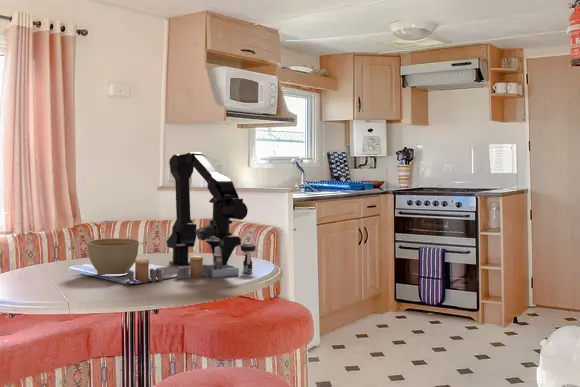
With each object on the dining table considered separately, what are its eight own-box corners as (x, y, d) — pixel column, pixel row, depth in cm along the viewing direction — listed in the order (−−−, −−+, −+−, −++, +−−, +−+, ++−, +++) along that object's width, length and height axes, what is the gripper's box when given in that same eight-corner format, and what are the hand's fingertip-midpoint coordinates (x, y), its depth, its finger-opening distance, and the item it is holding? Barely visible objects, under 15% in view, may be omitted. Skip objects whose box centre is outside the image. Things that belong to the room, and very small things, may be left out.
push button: (257, 274, 194) (258, 244, 194) (241, 274, 193) (242, 244, 192) (253, 270, 201) (254, 241, 200) (238, 270, 199) (239, 242, 199)
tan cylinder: (187, 276, 187) (188, 256, 187) (199, 275, 190) (200, 255, 189) (192, 278, 184) (193, 258, 184) (204, 277, 186) (205, 257, 186)
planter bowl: (75, 276, 182) (75, 242, 181) (109, 268, 197) (110, 237, 196) (116, 281, 176) (117, 246, 175) (148, 273, 191) (149, 240, 190)
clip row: (127, 281, 176) (127, 270, 176) (205, 275, 190) (205, 264, 190) (130, 283, 174) (130, 272, 174) (209, 276, 188) (209, 266, 187)
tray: (201, 272, 194) (201, 265, 194) (226, 270, 199) (226, 263, 199) (213, 277, 186) (213, 270, 186) (238, 275, 191) (238, 267, 191)
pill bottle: (213, 270, 195) (213, 246, 194) (227, 270, 195) (227, 246, 194) (212, 273, 190) (213, 248, 189) (226, 273, 190) (227, 248, 190)
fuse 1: (133, 280, 178) (133, 259, 177) (146, 279, 180) (146, 258, 180) (137, 283, 174) (137, 261, 174) (150, 282, 177) (150, 260, 176)
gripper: (187, 215, 195) (186, 260, 196) (210, 220, 179) (209, 270, 180) (217, 214, 201) (216, 258, 202) (242, 219, 185) (241, 267, 186)
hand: (220, 263), depth 192 cm, fingers open, 6 cm apart
